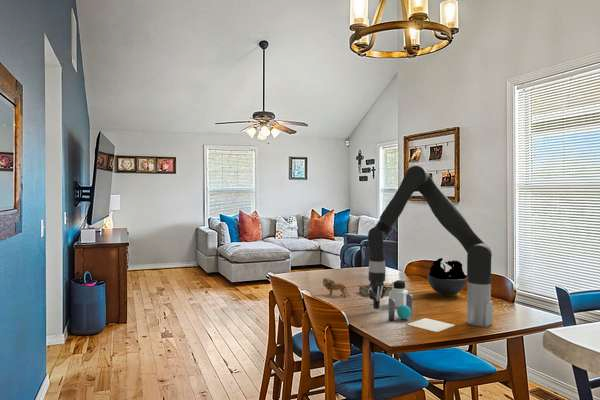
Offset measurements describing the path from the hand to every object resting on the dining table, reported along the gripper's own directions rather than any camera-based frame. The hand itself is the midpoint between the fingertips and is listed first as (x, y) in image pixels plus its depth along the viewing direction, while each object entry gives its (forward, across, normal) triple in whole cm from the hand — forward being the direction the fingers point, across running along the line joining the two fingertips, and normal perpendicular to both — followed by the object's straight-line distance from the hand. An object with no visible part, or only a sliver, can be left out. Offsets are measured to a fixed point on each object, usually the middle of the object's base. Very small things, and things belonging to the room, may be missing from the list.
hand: (376, 308), depth 213 cm
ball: (-2, -1, -15) cm, 15 cm away
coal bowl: (+2, +55, -4) cm, 55 cm away
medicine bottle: (+2, +17, 0) cm, 17 cm away
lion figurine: (+2, +10, +34) cm, 36 cm away
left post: (+2, -6, -13) cm, 15 cm away
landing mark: (+2, 0, -28) cm, 28 cm away
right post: (+2, +7, -13) cm, 15 cm away
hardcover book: (+2, +33, +22) cm, 39 cm away
